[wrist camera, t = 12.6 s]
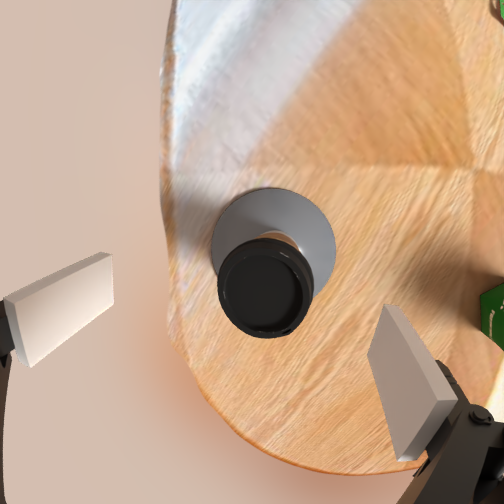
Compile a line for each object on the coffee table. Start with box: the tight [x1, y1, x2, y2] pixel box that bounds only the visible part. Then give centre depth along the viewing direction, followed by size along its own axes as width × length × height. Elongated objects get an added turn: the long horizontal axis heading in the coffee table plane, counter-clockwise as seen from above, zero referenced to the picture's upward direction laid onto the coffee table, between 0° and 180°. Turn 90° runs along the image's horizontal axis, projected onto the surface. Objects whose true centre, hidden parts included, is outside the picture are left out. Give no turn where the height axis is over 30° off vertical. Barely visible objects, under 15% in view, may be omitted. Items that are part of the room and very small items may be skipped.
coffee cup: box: [217, 230, 314, 339], centre depth 31 cm, size 8×8×15 cm
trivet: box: [211, 189, 336, 297], centre depth 38 cm, size 16×16×1 cm
